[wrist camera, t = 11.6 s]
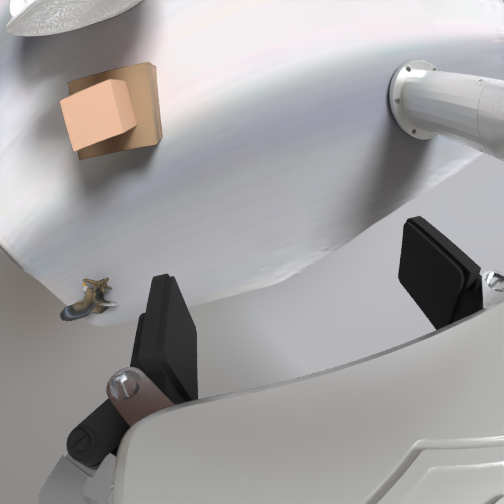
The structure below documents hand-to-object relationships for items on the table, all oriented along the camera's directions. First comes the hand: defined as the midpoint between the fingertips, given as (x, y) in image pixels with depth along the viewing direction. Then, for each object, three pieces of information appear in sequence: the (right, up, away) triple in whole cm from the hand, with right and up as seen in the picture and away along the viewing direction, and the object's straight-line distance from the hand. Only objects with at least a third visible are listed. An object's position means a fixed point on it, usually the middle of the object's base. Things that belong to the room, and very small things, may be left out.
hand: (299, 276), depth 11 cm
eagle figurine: (-27, -5, +32) cm, 42 cm away
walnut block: (-17, +18, +19) cm, 32 cm away
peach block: (-16, +15, +14) cm, 27 cm away
